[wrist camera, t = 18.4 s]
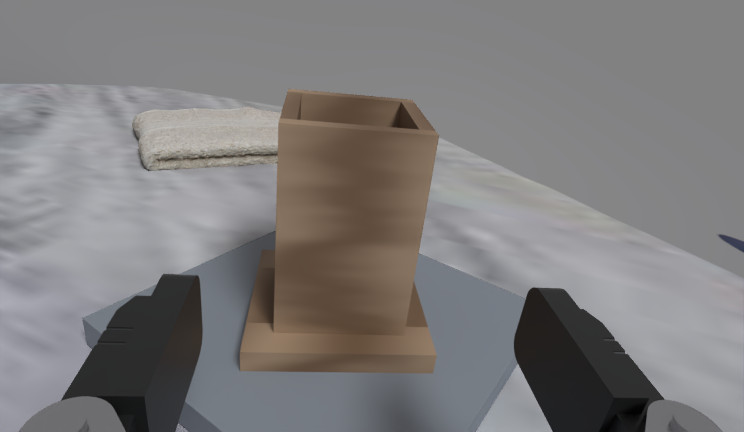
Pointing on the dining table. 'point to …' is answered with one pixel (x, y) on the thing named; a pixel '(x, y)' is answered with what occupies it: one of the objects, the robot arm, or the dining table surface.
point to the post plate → (344, 389)
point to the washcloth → (206, 137)
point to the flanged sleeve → (345, 240)
